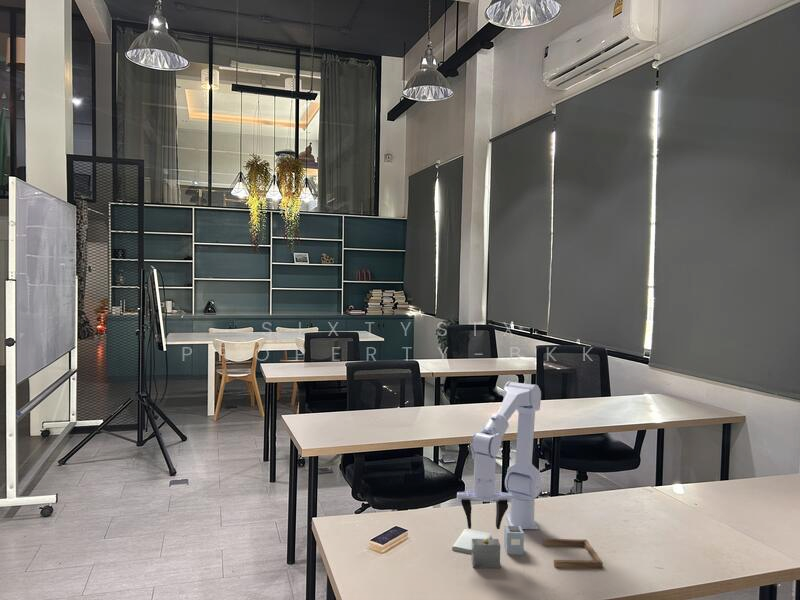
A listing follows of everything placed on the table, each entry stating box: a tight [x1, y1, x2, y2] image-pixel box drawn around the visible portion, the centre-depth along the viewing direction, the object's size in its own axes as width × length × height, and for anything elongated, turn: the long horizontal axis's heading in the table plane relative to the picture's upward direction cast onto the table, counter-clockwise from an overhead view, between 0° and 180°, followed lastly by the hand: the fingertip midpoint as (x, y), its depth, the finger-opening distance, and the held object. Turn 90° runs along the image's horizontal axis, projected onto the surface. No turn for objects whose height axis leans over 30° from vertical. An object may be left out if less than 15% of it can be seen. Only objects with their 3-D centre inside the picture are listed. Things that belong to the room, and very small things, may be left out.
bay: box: [541, 538, 604, 569], centre depth 154 cm, size 13×12×2 cm
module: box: [503, 525, 525, 555], centre depth 157 cm, size 5×4×6 cm
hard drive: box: [451, 528, 492, 555], centre depth 161 cm, size 2×8×12 cm
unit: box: [470, 538, 501, 569], centre depth 149 cm, size 4×7×7 cm, turn 90°
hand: (483, 527), depth 153 cm, fingers open, 7 cm apart
